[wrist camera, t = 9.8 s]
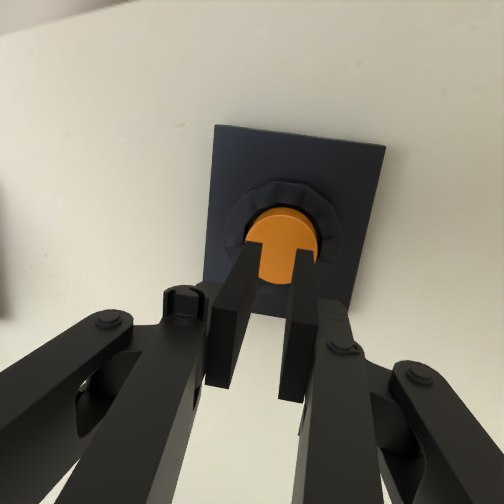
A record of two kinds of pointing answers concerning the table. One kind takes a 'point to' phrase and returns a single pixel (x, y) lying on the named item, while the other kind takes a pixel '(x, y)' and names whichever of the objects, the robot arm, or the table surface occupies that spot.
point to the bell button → (281, 242)
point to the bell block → (291, 203)
